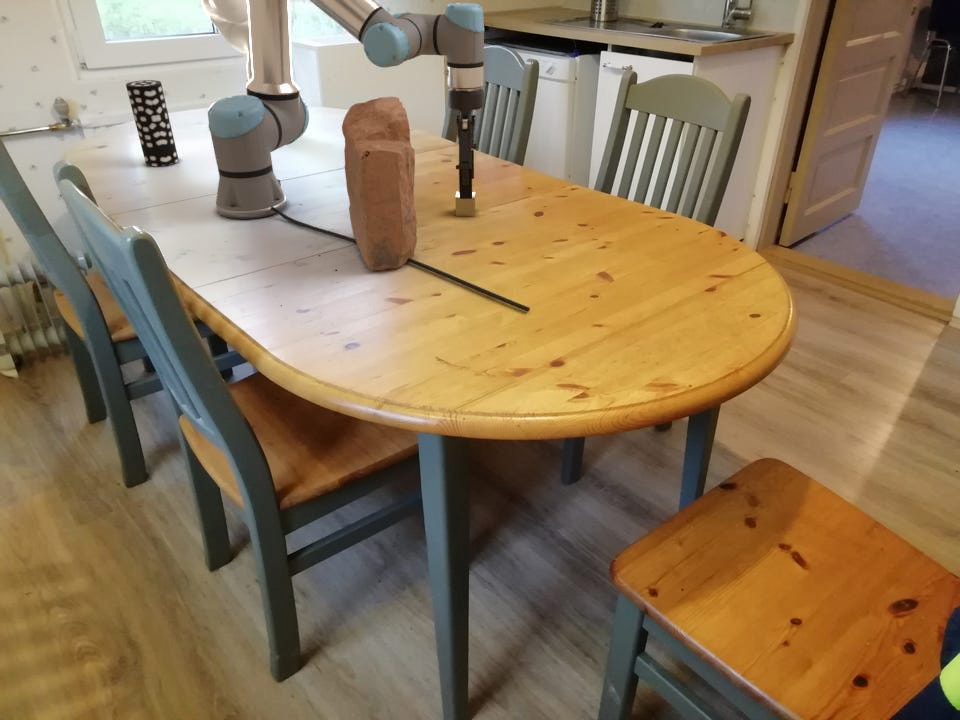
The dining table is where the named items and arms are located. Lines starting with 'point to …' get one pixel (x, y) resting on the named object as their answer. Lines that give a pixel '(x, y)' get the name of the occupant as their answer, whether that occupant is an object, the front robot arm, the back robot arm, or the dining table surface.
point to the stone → (381, 181)
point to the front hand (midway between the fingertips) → (467, 188)
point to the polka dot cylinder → (152, 122)
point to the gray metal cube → (465, 206)
